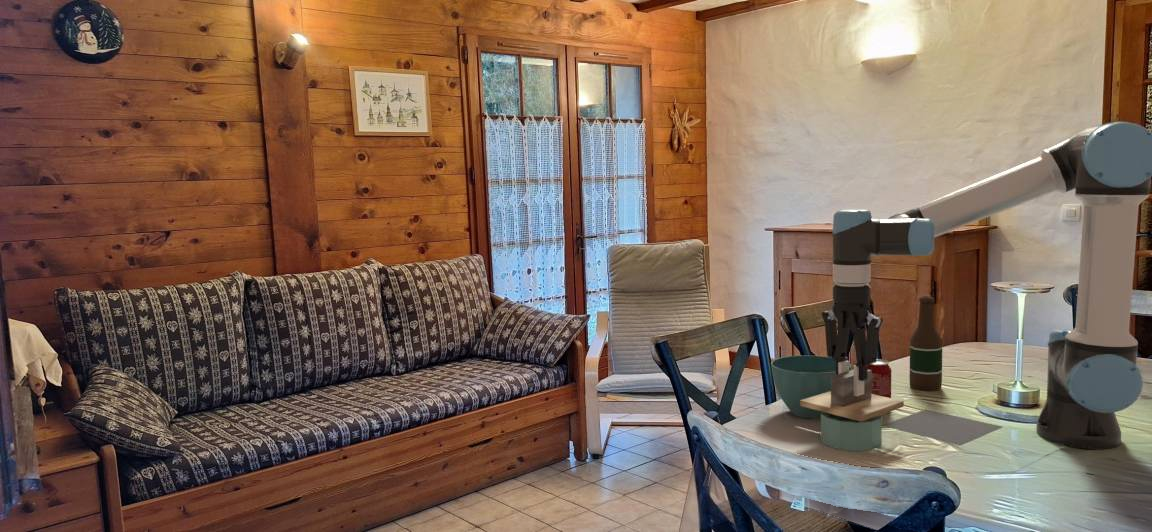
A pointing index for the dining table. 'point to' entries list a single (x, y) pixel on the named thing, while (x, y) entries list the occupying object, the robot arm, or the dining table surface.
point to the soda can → (881, 378)
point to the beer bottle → (926, 350)
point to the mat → (942, 426)
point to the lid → (851, 399)
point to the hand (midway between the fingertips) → (851, 392)
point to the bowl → (851, 432)
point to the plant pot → (803, 380)
